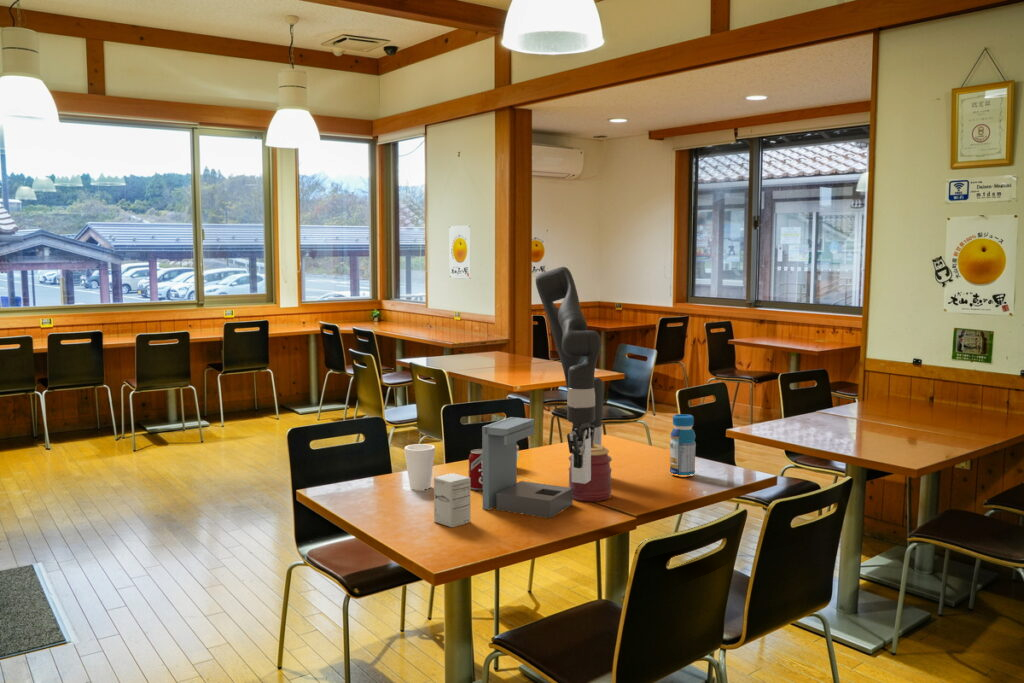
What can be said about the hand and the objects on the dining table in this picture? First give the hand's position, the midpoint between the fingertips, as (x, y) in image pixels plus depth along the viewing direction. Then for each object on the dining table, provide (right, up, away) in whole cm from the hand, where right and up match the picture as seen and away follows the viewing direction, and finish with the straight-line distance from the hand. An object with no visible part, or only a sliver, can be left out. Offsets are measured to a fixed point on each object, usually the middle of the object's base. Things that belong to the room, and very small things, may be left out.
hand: (581, 465), depth 228 cm
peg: (0, -4, 0) cm, 4 cm away
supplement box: (-35, -16, 0) cm, 38 cm away
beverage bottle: (+38, -11, +50) cm, 64 cm away
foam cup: (-48, -12, +35) cm, 61 cm away
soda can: (-29, -12, +34) cm, 46 cm away
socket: (-12, -14, +14) cm, 23 cm away
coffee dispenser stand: (-20, -14, +18) cm, 30 cm away
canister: (+5, -13, +25) cm, 29 cm away
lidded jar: (-22, -10, +60) cm, 64 cm away
